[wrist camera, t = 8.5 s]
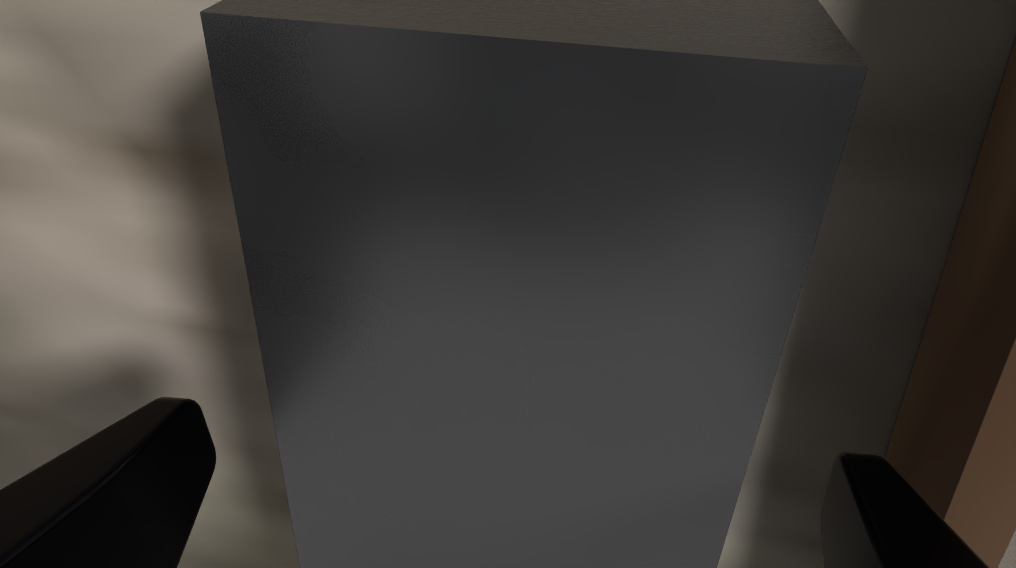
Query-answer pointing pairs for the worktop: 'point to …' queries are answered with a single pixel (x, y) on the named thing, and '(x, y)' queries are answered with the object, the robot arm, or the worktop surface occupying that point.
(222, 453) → the worktop surface
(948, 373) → the walnut box
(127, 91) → the worktop surface
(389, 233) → the dark gray box
